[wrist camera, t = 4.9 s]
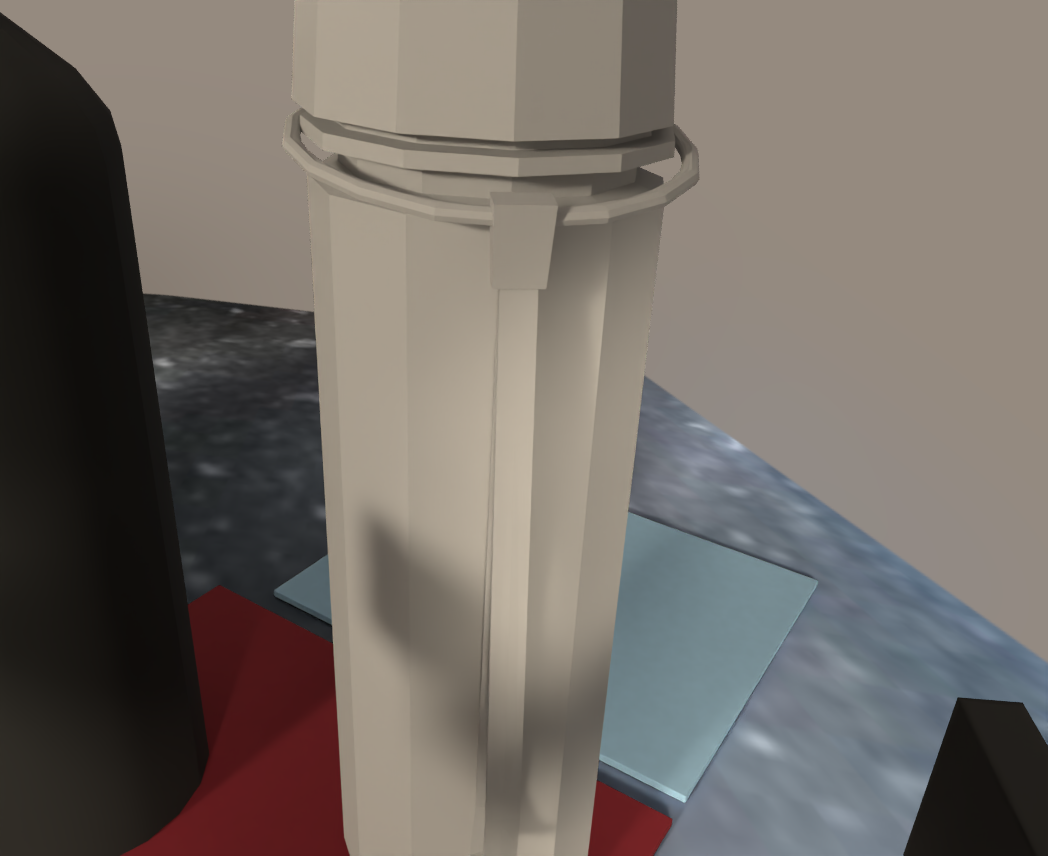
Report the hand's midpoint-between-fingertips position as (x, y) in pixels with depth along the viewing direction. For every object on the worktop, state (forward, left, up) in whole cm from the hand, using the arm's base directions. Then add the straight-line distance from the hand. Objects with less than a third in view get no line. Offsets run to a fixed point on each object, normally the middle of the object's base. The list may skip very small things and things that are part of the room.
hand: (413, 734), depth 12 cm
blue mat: (+9, -21, -15) cm, 28 cm away
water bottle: (+4, -8, -15) cm, 17 cm away
